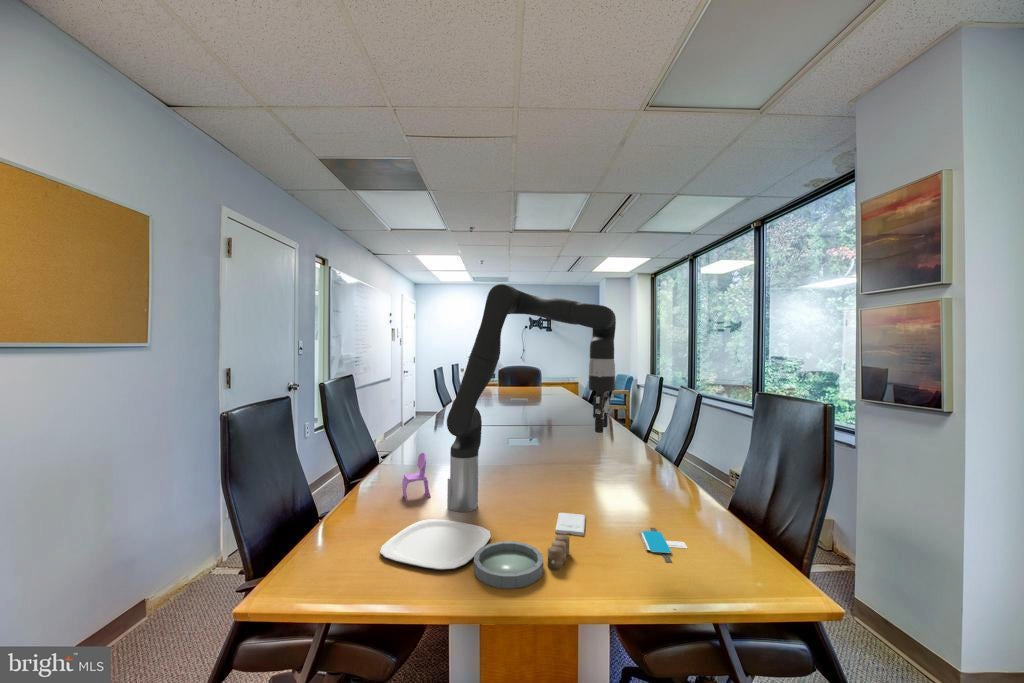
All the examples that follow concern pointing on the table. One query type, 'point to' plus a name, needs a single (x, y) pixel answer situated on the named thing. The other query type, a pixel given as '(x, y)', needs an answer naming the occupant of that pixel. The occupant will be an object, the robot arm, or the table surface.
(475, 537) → the plate
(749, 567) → the table surface
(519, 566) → the round tray
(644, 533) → the blue flat panel
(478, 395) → the robot arm
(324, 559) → the table surface
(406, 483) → the toy chair
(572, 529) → the external hard drive
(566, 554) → the bead string
